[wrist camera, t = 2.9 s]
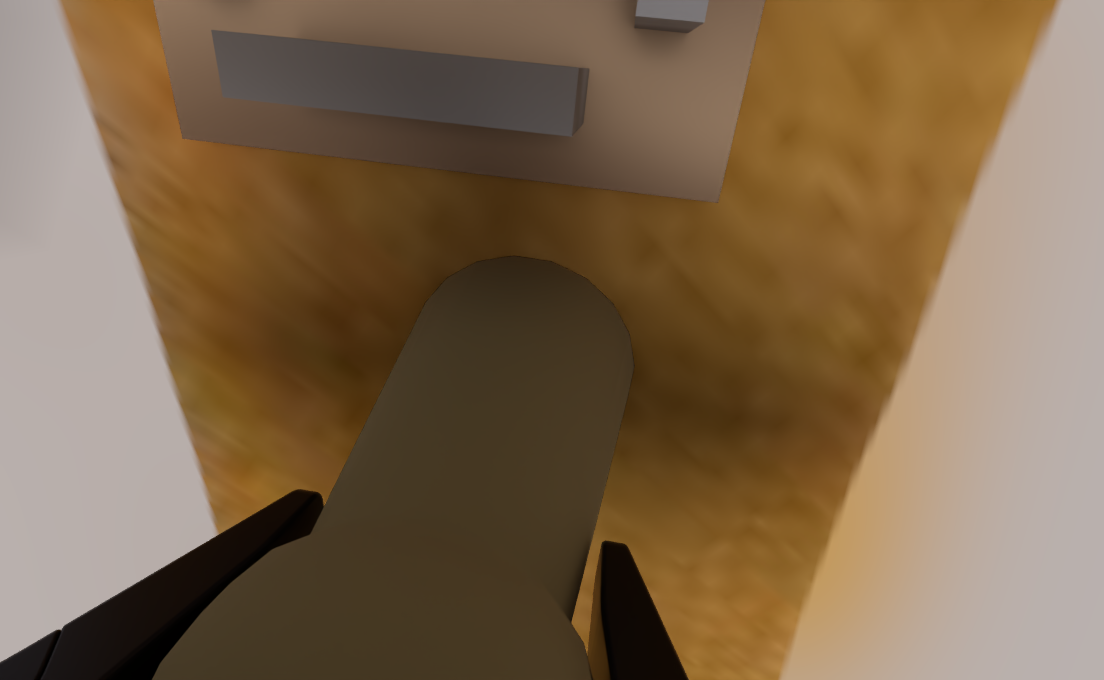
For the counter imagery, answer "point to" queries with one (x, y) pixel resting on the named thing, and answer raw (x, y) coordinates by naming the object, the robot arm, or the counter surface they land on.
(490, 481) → the cork
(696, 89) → the clip holder
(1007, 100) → the counter surface
